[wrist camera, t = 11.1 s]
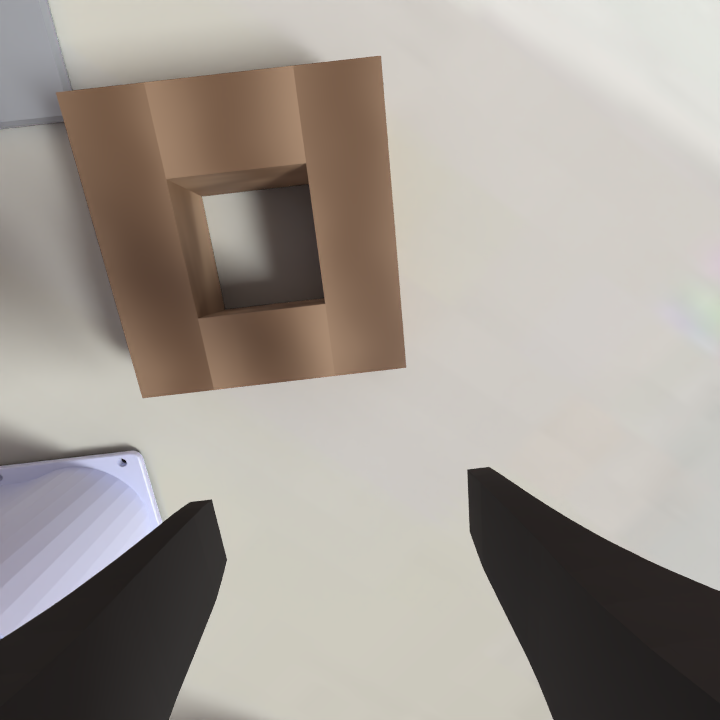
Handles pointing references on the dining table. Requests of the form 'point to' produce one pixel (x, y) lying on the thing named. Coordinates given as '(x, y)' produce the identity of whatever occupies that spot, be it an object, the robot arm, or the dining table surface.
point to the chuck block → (230, 175)
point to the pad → (29, 65)
